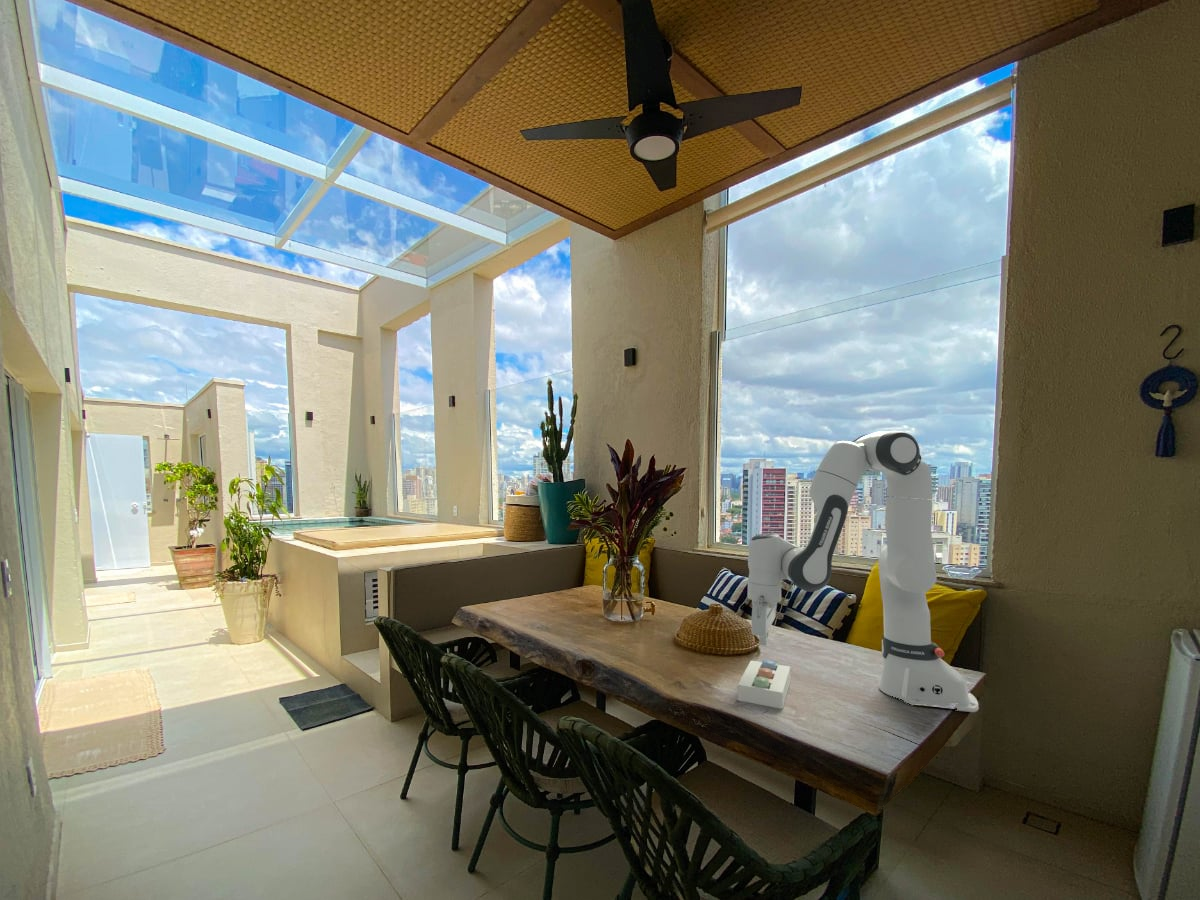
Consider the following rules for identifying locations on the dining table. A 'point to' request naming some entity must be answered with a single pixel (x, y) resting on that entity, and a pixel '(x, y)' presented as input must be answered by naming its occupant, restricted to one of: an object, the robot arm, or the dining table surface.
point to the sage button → (761, 682)
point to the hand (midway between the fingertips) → (763, 643)
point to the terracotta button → (765, 673)
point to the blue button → (769, 664)
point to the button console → (762, 695)
